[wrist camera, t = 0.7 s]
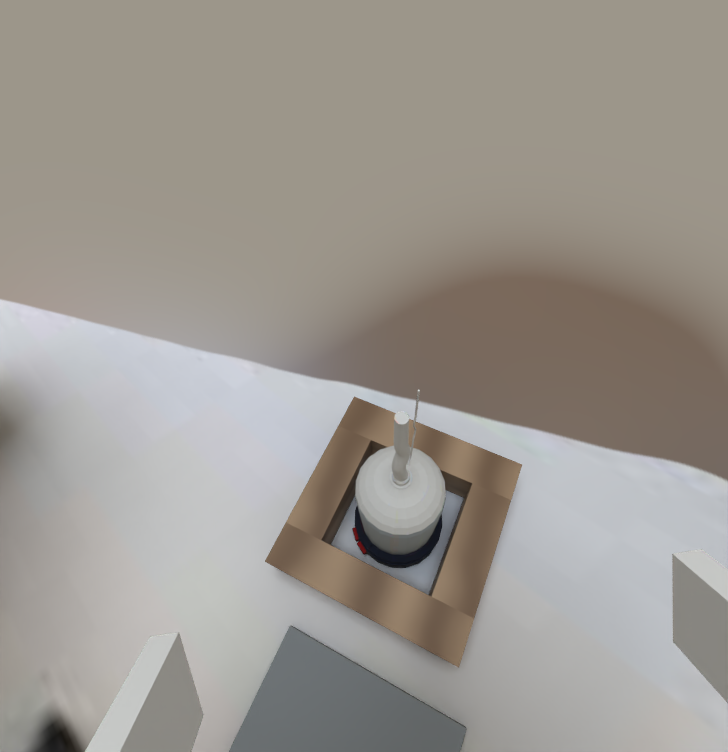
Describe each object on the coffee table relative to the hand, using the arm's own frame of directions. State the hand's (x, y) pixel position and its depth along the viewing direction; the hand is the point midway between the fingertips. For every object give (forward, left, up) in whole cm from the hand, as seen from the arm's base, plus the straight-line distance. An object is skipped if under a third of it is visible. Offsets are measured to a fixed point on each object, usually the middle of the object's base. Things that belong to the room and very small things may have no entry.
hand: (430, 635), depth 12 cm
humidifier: (-4, +8, -31) cm, 32 cm away
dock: (-4, +8, -30) cm, 32 cm away
